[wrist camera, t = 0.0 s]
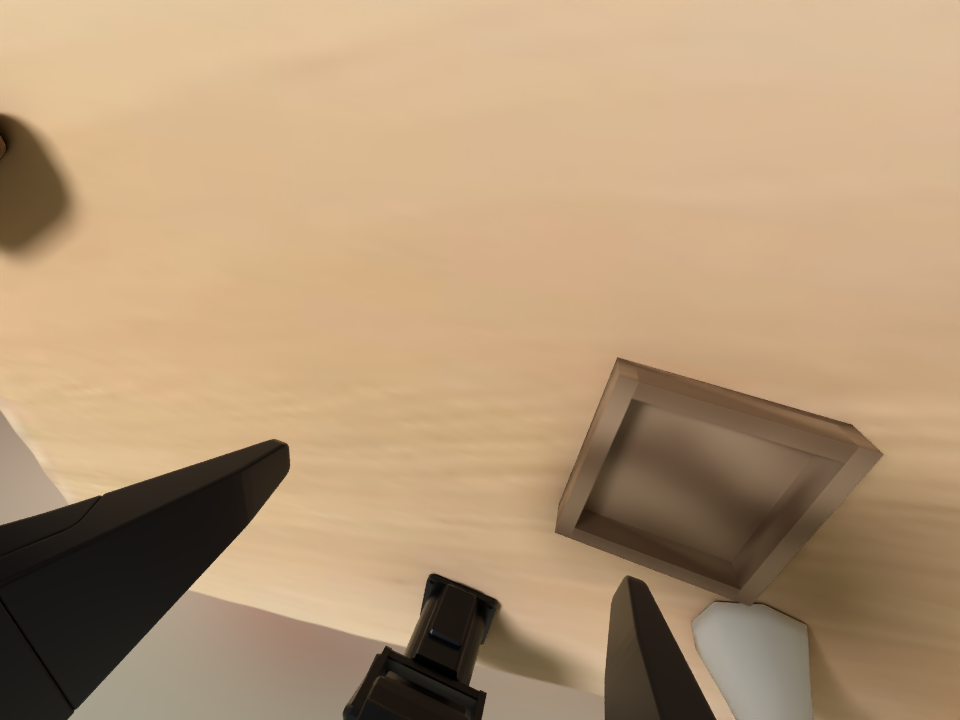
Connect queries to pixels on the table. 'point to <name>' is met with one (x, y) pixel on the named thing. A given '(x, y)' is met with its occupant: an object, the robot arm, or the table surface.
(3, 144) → the tin
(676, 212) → the table surface
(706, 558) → the tray
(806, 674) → the flask
